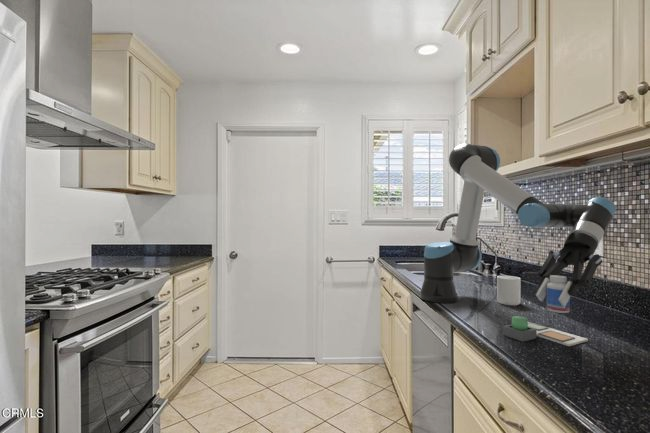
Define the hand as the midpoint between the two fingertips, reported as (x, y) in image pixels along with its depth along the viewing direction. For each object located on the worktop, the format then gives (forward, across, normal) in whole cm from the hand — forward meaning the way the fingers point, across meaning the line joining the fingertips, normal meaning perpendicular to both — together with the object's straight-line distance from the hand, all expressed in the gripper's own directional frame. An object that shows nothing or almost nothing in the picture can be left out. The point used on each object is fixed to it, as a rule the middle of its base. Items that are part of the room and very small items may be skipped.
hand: (550, 300), depth 95 cm
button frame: (+11, +6, -5) cm, 14 cm away
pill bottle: (0, 0, -5) cm, 5 cm away
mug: (-13, +34, -29) cm, 47 cm away
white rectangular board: (+4, +4, -12) cm, 13 cm away
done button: (+10, +6, -4) cm, 12 cm away
